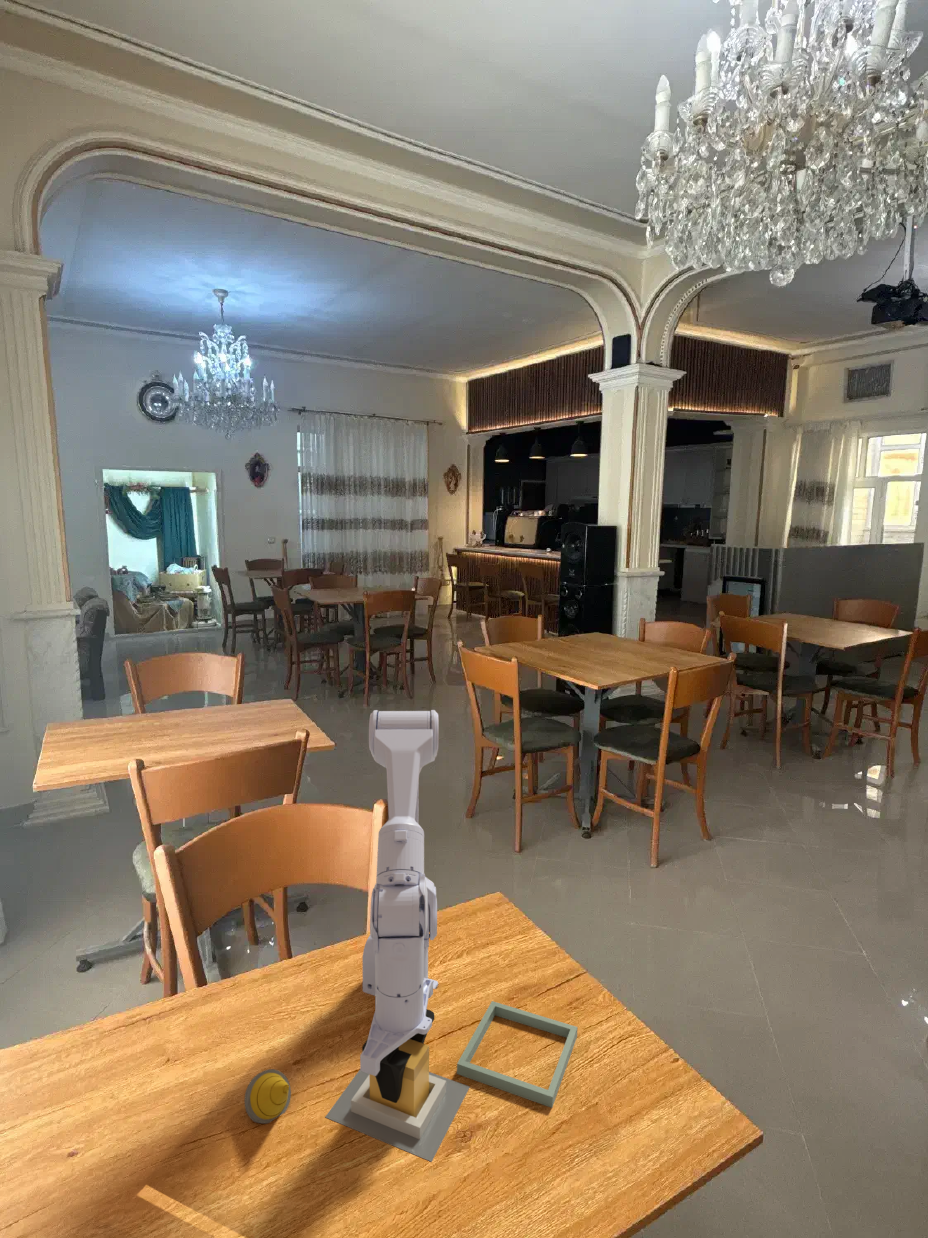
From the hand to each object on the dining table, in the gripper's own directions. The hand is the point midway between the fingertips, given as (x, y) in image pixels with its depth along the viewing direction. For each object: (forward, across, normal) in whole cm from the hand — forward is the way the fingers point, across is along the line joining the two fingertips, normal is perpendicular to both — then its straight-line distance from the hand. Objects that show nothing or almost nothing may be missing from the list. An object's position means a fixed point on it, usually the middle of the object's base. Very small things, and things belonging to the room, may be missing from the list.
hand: (399, 1084), depth 82 cm
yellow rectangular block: (+2, 0, 0) cm, 2 cm away
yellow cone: (+3, -7, +13) cm, 15 cm away
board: (+3, 0, 0) cm, 3 cm away
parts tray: (+3, +13, -11) cm, 17 cm away
